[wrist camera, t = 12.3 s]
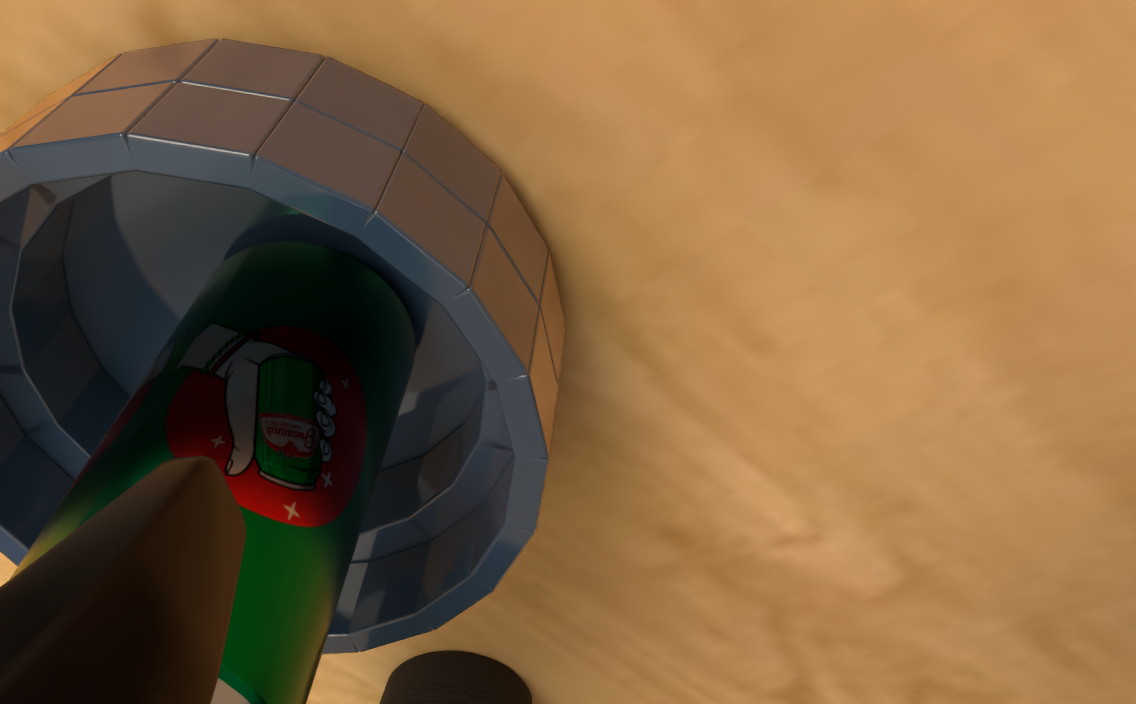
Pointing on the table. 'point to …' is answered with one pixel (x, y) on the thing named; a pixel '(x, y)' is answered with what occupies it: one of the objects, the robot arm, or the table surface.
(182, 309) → the bowl
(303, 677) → the soda can
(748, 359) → the table surface
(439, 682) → the drinking cup
